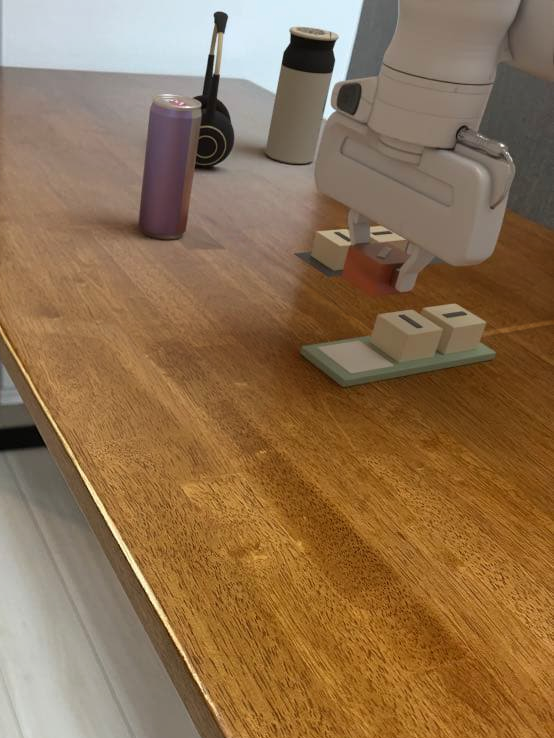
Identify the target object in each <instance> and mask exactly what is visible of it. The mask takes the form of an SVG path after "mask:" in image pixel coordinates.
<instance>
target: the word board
mask: <svg viewBox="0 0 554 738" xmlns="http://www.w3.org/2000/svg"><path fill="white" fill-rule="evenodd" d="M486 325H487V321H485V320H484V319H483V318H480V317H479V316H477V315H475V314H474V313H472V312H471V311H469V310H468V309H465V308H463V307H462V306H461V305H459V304H457V303H456V302H455V303H448V304H442V305H434V306H427V307H422V309H421V312H420V313H418V312H417V311H416V310H414V309H406V310H398V311H393V312H391V311H390V312H384V313H378V314H377V315H376V319H375V322H374V326H373V329H372V332H371V335H366V336H360V337H358V336H357V337H354V338H352V337H351V338H346V339H339V340H333V341H326V342H320V343H315V344H308V345H301V348H300V351H299V354H300V355H301V356H303V358H305V359H306V360H308V361H309V362H310V363H311V364H312V365H314V366H315V367H316V368H318V370H320V371H321V372H323V373H324V374H325V375H326V376H328V377H329V378H330V379H331V380H333V381H334V382H336V383H337V384H338V385H339V386H340V387H341V388H347V387H353V386H358V385H364V384H369V383H375V382H380V381H385V380H390V379H395V378H401V377H406V376H411V375H418V374H423V373H427V372H428V373H429V372H434V371H439V370H443V369H444V370H445V369H449V368H455V367H460V366H465V365H470V364H476V363H481V362H482V363H483V362H487V361H492V360H495V357H496V355H497V352H496V351H495V350H493V349H492V348H490V347H488V346H487V345H486V344H484V343H482V342H481V339H482V336H483V334H484V331H485V328H486Z"/></svg>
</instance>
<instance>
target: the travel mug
mask: <svg viewBox="0 0 554 738" xmlns="http://www.w3.org/2000/svg"><path fill="white" fill-rule="evenodd" d="M288 32H289V33H290V36H289V37H290V38H289V44H288V45H287V47H286V48H285V49H284V51H283V53H282V57H281V58H282V60H281V65H280V68H279V76H278V81H277V87H276V91H275V97H274V102H273V108H272V113H271V119H270V125H269V130H268V135H267V140H266V144H265V145H266V146H265V151H264V152H265V154H266V155H267V156H268V157H269V158H271V159H272V160H275V161H276V162H280V163H285V164H290V165H306V164H309V163H312V162H313V161H315V154H316V150H317V146H318V141H319V137H320V133H321V126H322V124H323V119H324V114H325V110H326V106H327V105H326V104H327V101H328V96H329V92H330V86H331V82H332V78H333V73H334V68H335V64H336V57H335V52H334V47H335V46H336V42H337V40H339V37H340V35H338V33H335V32H334V31H331V30H326V29H321V28H316V27H309V26H308V27H307V26H292V27H290V28H289V30H288Z"/></svg>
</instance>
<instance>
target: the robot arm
mask: <svg viewBox="0 0 554 738" xmlns="http://www.w3.org/2000/svg"><path fill="white" fill-rule="evenodd" d="M397 1H398V2H397V7H398V8H397V22H396V27H395V31H394V34H393V36H392V39H391V41H390V43H389V45H388V46H387V49H386V50H385V52H384V54H383V59H382V61H381V65H380V70H379V73H378V75H373V76H369V77H361V78H354V79H346V80H339V81H337V82H335V84H334V85H333V88H332V91H331V96H330V106H331V108H332V109H333V110H334V111H333V112H332V113H330V115H329V117H328V118H327V120H326V122H325V125H324V127H323V131H322V135H321V138H320V143H319V147H318V150H317V155H316V160H315V165H314V171H313V172H314V174H313V175H314V181H315V187H316V190H318V191H319V192H321V194H324V195H325V196H327V197H330V198H331V199H333V200H335V201H337V202H338V203H340V204H342V205H344V206H345V207H347V208H349V211H348V216H347V219H346V221H347V227H348V230H349V234H350V241H351V245H362V244H371V243H370V227H371V224H373V223H376V224H378V226H383V227H385V228H386V229H388V230H390V231H392V232H394V233H395V234H397V235H399V236H401V237H402V238H404V239H406V240H408V242H409V245H408V248H407V254H409V255H411V256H410V257H409V259H408V260H407V261H406V262H405V263H404V265H403V266H402V267H393V270H392V273H391V278H390V280H389V285H390V286H391V287H393V288H394V289H396V290H398V291H399V292H408V291H411V292H412V290H413V289H414V287H415V284H416V281H417V279H418V275H419V273H420V272H422V271H423V270H424V268H426V267H427V266H428V265H427V264H428V263H429V262H431V261H432V260H433V259H434V258H435V256H436V257H438V258H440V259H442V260H443V261H445V262H447V263H446V264H449V265H451V266H453V267H467V266H469V267H470V266H476V265H479V264H482V263H483V262H485V261H486V260H488V259H489V258H490V257H491V256H492V254H493V253H494V252H495V248H496V245H497V242H498V240H499V236H500V233H501V229H502V225H503V222H504V216H505V213H506V209H507V205H508V200H509V194H510V188H511V186H512V183H513V180H514V178H515V174H516V166H515V164H514V159H513V157H512V155H511V153H510V152H509V147H508V145H507V144H506V143H505V142H503V141H502V140H499V139H495V138H493V139H492V138H489V137H488V136H486V135H484V134H483V133H481V132H479V128H480V125H481V122H482V120H483V116H484V113H485V111H486V108H487V105H488V101H489V99H490V96H491V92H492V89H493V86H494V83H495V80H496V76H497V69H498V65H499V64H500V63H501V64H504V65H506V66H509V67H511V68H514V69H517V70H520V71H522V72H523V73H525V74H528V75H530V76H533V77H535V78H539V79H541V80H544V81H547V82H550V83H552V84H553V83H554V0H397ZM503 158H504V159H503ZM351 245H350V246H351Z"/></svg>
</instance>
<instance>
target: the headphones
mask: <svg viewBox="0 0 554 738" xmlns="http://www.w3.org/2000/svg"><path fill="white" fill-rule="evenodd" d="M228 19H229V15H228V13H226V12H224V11H220V10H219V11H215V12H213V20H214V21H213V23H214V27H213V31H212V36H211V43H210V48H209V53H208V55H207V62H206V69H205V74H204V80H203V87H202V94H199V95H196V96H193V97H192V98H193V99H196V100H198V101H199V102H200V103H201V113H202V117H201V124H200V131H199V139H198V146H197V153H196V160H195V166H196V167H200V168H210V167H213V166H217V165H219V164H221V163H222V162H223V161H225V160H226V159H227V158H228V157H229V155H230V154H231V152H232V150H233V148H234V144H235V130H234V127H233V124H232V119H231V115H230V112H229V110H228V109H227V107H226V105H225V104H224V103H223V101H221V100H220V99H219V98H218V93H219V85H220V77H221V74H220V71H221V62H222V54H223V44H224V35H225V33H226V28H227V23H228ZM216 44H217V46H216ZM215 50H216V55H215Z"/></svg>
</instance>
